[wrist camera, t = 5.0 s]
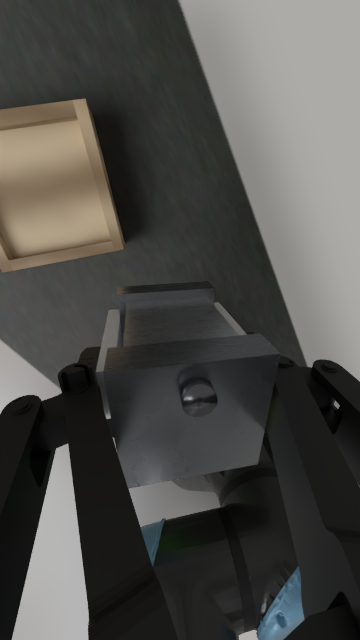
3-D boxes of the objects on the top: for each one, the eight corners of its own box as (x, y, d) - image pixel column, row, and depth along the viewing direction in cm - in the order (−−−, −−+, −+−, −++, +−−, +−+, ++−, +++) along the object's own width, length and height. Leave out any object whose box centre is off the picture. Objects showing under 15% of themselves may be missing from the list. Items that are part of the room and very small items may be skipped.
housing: (204, 355, 19) (264, 477, 10) (127, 363, 18) (123, 504, 10) (208, 281, 16) (290, 363, 8) (118, 286, 15) (101, 386, 7)
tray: (124, 243, 28) (123, 249, 25) (19, 263, 27) (2, 272, 24) (92, 115, 23) (85, 98, 19) (-41, 133, 22) (-75, 119, 18)
